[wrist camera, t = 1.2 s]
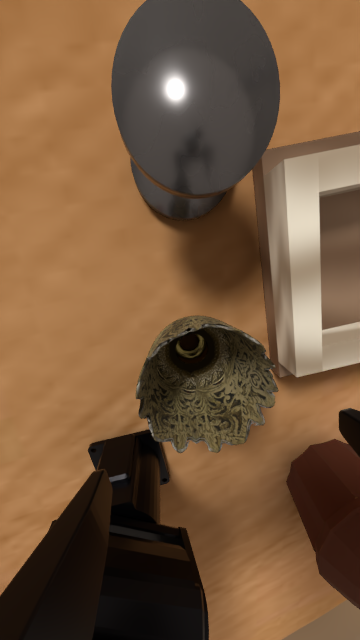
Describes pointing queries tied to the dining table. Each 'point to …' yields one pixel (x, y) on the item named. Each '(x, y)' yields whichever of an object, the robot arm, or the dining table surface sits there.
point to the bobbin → (193, 100)
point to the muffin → (331, 511)
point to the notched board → (329, 242)
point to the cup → (205, 385)
